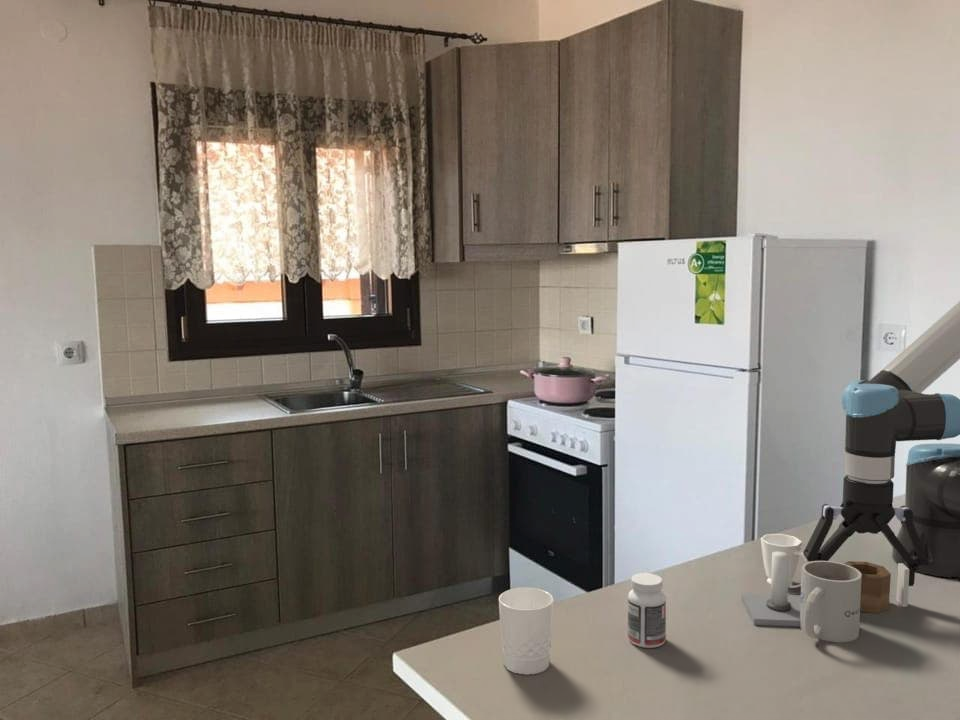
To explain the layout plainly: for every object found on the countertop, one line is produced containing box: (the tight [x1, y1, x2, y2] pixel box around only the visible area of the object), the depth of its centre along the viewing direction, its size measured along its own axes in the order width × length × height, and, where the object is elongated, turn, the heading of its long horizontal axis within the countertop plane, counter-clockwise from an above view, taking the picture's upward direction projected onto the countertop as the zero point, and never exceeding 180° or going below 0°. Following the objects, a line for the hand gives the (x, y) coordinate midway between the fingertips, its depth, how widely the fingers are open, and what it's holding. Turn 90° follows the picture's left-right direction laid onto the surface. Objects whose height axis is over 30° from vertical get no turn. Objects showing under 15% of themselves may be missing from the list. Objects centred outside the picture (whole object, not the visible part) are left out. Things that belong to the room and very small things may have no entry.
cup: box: [760, 533, 809, 589], centre depth 143 cm, size 7×10×8 cm
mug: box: [799, 560, 862, 643], centre depth 125 cm, size 12×9×10 cm
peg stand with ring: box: [741, 552, 801, 628], centre depth 132 cm, size 10×10×10 cm
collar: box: [842, 560, 892, 614], centre depth 136 cm, size 7×7×6 cm
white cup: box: [498, 587, 554, 676], centre depth 117 cm, size 8×8×10 cm
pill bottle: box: [627, 572, 667, 649], centre depth 123 cm, size 6×6×10 cm
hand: (862, 602), depth 136 cm, fingers open, 12 cm apart
